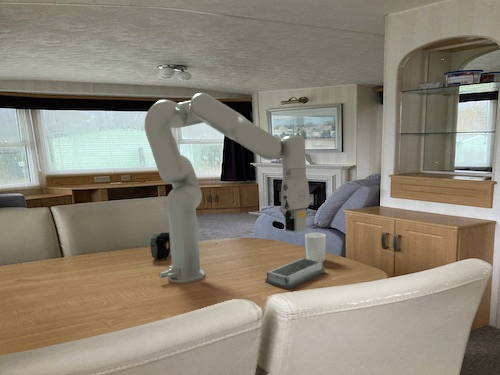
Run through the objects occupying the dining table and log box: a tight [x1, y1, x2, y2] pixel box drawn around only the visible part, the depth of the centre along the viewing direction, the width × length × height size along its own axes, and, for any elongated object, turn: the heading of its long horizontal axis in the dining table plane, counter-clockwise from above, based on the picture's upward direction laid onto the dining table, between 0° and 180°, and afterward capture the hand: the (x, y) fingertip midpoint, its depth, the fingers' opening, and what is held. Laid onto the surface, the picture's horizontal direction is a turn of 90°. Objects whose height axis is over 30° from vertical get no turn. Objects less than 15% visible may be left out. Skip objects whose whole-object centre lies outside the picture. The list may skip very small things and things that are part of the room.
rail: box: [264, 257, 326, 290], centre depth 122 cm, size 20×10×4 cm, turn 136°
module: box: [284, 208, 307, 233], centre depth 120 cm, size 5×5×7 cm
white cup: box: [304, 232, 327, 263], centre depth 138 cm, size 8×8×10 cm
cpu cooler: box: [150, 232, 171, 260], centre depth 148 cm, size 10×6×10 cm, turn 178°
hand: (295, 228), depth 120 cm, fingers closed on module, 5 cm apart
